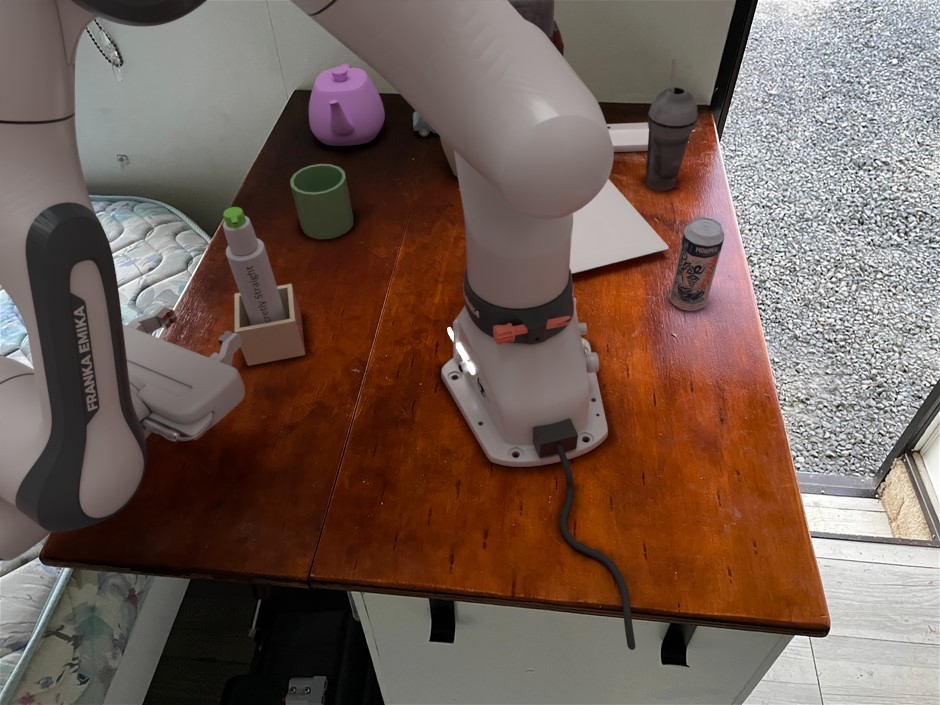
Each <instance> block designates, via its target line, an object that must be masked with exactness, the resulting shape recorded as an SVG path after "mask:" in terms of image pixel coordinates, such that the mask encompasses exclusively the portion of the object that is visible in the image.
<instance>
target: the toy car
mask: <svg viewBox="0 0 940 705" xmlns="http://www.w3.org/2000/svg"><path fill="white" fill-rule="evenodd" d="M412 126H413V131H414V132H418V134H419V135H420V137H424V138H425V137H427V136H429V135H430V132H432V133H433V134H438V133H437V132H436V131H435V130H434V129H433V128H432V127H431V126H430V125H429V124H428V123H427V122H426V121H425V120H424V119H423V118H422V117H421V116H420V115H419V114H418V113H417V112H416V111H415V110H414V112H412Z"/></svg>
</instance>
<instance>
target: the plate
mask: <svg viewBox="0 0 940 705" xmlns="http://www.w3.org/2000/svg"><path fill="white" fill-rule="evenodd" d="M669 247H670V246H669V245H668V244H667V243H666V242H665V240H663V238H662V237H661V236H660V235H659V234H658V233H657V232H656V230H655V229H654V228H653V227H652V226H651V225H650V224H649V223H648V222H647V221H646V219H645V218H644V217H643V216H642V215H641V214H640V212H639V211H638V210H637V209H636V208H635V207H634V206H633V204H632V203H631V202H630V201H629V200H628V199H627V197H625V196H624V195H623V193H622V192H621V191H620V190H619V189H618V188H617V187H616V185H615V184H614V183H613V182H612V181H611V179H610V178H608V180H607V182H606V184H605V185H604V187H603V188H602V190H601V191H600V192H599V194H598V195H597V196H596V197H595V198H594V199H593V200H592V201H591V202H590V203H588V204H587V205H586V206H584V207H583V208H581V209H580V210H578V211H576V212H574V213H573V230H572V243H571V256H570V270H571V273H572V275H575V274H579V273H583V272H587V271H591V270H595V269H598V268H602V267H606V266H610V265H615V264H618V263H622V262H625V261H629V260H633V259H634V260H635V259H636V258H642V257H645V256H649V255H653V254H657V253H661V252H664V251H668V250H669Z"/></svg>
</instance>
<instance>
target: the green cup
mask: <svg viewBox="0 0 940 705" xmlns="http://www.w3.org/2000/svg"><path fill="white" fill-rule="evenodd" d="M289 182H290V189H291V192H292V196H293V200H294V204H295V208H296V212H297V216H298V220H299V224H300V228H301V231H302V232H303V234H304V235H305V236H308V237H309V238H311V239H316V240H331V239H335V238H338V237H342V236H343V235H345V234H346V233H348V232H349V231H350V230H351V229H352V227H353V226H354V222H355V219H354V218H355V217H354V214H353V207H352V204H351V197H350V193H349V192H350V191H349V187H348V182H347V176H346V172H345V170H343V169H342V168H341V167H340V166H338V165H333V164H330V163H317V164H311V165H307V166H305V167H302V168H300V169H299V170H298V171H296V172H295V173H293V174H292V176H291V178H290V180H289Z"/></svg>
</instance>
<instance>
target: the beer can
mask: <svg viewBox="0 0 940 705" xmlns="http://www.w3.org/2000/svg"><path fill="white" fill-rule="evenodd" d="M724 240H725V232H724V229H723V227H722V224H721V223H720V222H718V221H717V220H716V219H714V218H710V217H698V218H693V219H692V220H691V221H690V222H689V224H688V225H686V226H685V228H684V230H683V233H682V238H681V243H680V247H679V251H678V256H677V260H676V264H675V270H674V274H673V278H672V283H671V287H670V291H669V299H670V300H669V301H670V302H671V303H672V305H674V306H676V308H679V309H681V310H684V311H697V310H700V309H703V308H704V307H705V306H706V304H707V302H708V298H709V295H710V291H711V288H712V284H713V281H714V277H715V274H716V270H717V267H718V263H719V259H720V256H721V252H722V248H723V244H724Z"/></svg>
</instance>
